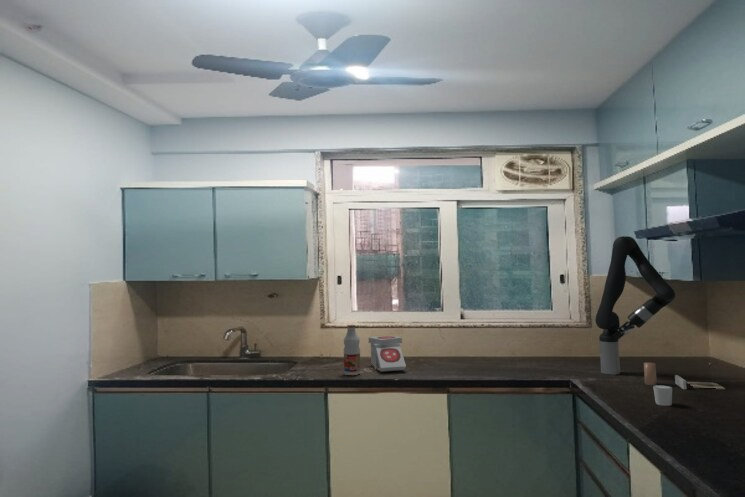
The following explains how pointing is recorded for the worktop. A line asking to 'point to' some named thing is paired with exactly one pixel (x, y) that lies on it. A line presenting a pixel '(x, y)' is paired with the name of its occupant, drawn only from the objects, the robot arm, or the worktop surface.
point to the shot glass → (663, 395)
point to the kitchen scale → (387, 353)
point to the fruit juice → (351, 351)
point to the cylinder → (650, 373)
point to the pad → (705, 385)
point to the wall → (680, 382)
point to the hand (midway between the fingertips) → (615, 337)
